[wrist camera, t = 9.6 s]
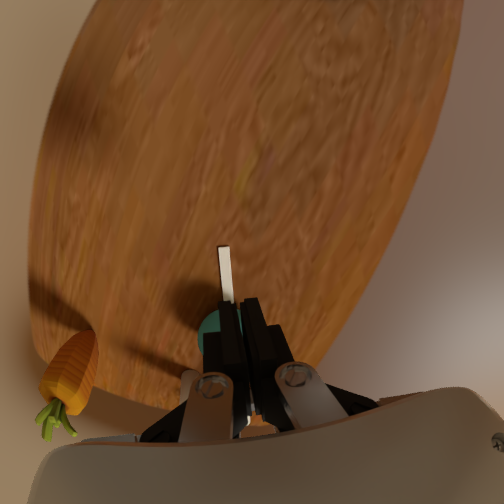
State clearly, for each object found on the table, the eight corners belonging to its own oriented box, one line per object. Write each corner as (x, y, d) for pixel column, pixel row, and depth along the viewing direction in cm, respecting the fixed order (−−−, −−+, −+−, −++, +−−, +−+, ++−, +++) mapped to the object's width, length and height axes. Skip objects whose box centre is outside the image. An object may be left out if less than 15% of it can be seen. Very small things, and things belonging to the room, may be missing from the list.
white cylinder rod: (179, 370, 31) (176, 430, 23) (199, 369, 31) (200, 429, 23) (183, 383, 32) (181, 442, 24) (202, 382, 32) (204, 441, 24)
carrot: (94, 306, 27) (38, 411, 13) (120, 340, 29) (85, 450, 15) (66, 321, 27) (10, 417, 13) (91, 353, 29) (52, 452, 15)
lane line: (218, 247, 27) (218, 247, 26) (229, 246, 27) (229, 246, 26) (226, 327, 30) (226, 328, 30) (235, 326, 30) (236, 327, 30)
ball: (202, 369, 28) (200, 315, 30) (259, 367, 28) (255, 313, 31) (194, 369, 23) (192, 302, 25) (264, 367, 23) (260, 300, 25)
